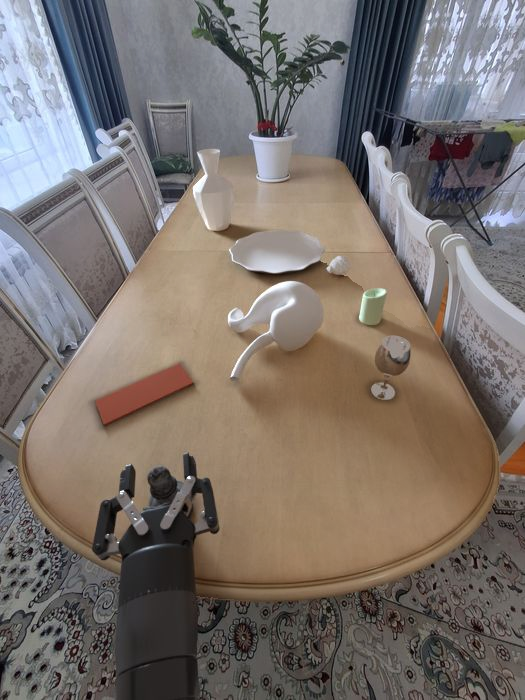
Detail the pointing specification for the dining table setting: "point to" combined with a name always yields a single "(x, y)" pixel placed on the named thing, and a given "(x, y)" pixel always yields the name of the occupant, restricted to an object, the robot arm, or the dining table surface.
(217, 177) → the vase
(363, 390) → the dining table surface
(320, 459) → the dining table surface
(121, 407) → the rectangular block
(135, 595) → the robot arm
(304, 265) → the plate
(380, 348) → the wineglass
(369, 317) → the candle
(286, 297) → the stomach
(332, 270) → the garlic bulb
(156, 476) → the chess piece
